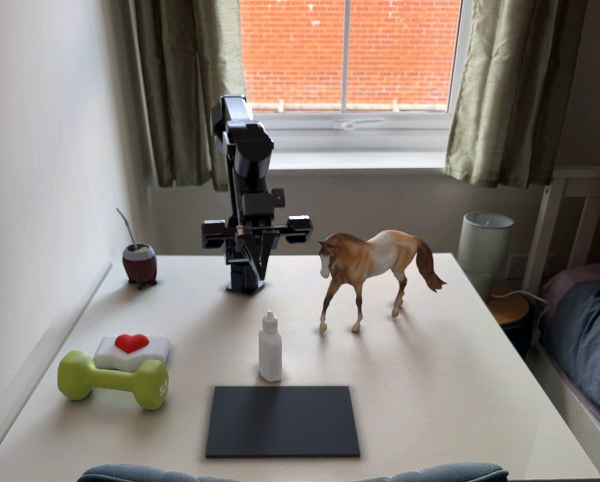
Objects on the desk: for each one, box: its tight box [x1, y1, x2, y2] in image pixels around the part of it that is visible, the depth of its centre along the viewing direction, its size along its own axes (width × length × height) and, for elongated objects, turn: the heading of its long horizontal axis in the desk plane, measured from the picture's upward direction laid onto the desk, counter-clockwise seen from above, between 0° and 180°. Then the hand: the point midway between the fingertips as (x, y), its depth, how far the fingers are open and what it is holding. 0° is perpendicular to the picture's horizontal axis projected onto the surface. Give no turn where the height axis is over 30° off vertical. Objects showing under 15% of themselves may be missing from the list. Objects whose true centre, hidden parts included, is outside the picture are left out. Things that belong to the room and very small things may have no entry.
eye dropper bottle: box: [258, 309, 283, 383], centre depth 99 cm, size 4×6×12 cm
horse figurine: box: [317, 229, 448, 334], centre depth 112 cm, size 31×8×21 cm, turn 123°
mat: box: [204, 385, 361, 459], centre depth 92 cm, size 17×22×1 cm
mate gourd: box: [115, 207, 158, 290], centre depth 126 cm, size 8×8×15 cm
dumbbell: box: [56, 349, 170, 411], centre depth 93 cm, size 16×8×7 cm, turn 79°
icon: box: [92, 333, 171, 373], centre depth 103 cm, size 12×4×10 cm
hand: (262, 280), depth 101 cm, fingers closed
